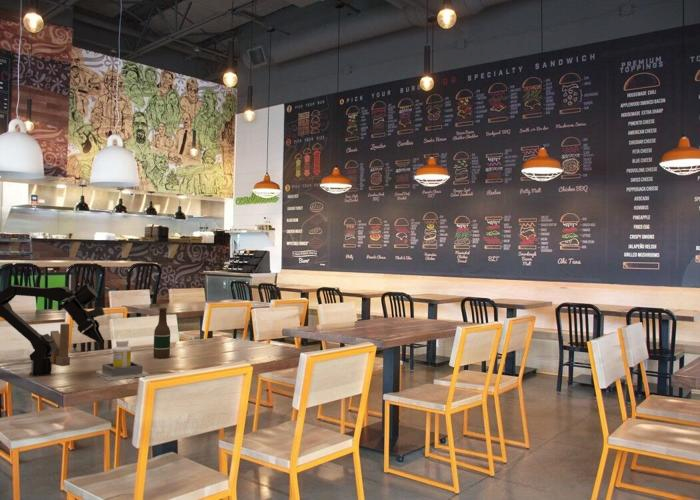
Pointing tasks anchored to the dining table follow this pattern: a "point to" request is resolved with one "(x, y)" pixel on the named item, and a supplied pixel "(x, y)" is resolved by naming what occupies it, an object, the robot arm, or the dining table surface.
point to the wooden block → (61, 346)
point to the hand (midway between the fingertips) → (101, 341)
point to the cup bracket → (121, 372)
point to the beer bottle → (162, 336)
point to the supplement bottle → (122, 354)
